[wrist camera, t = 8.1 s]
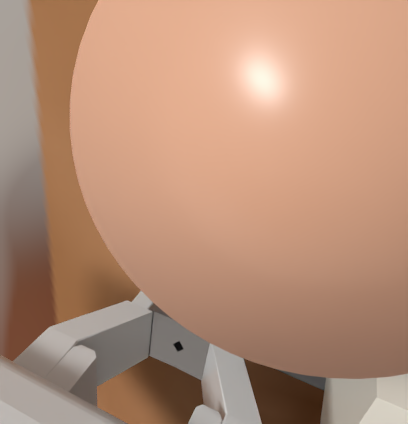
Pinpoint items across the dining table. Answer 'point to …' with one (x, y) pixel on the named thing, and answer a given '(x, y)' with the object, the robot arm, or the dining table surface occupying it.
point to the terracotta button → (255, 172)
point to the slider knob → (366, 401)
